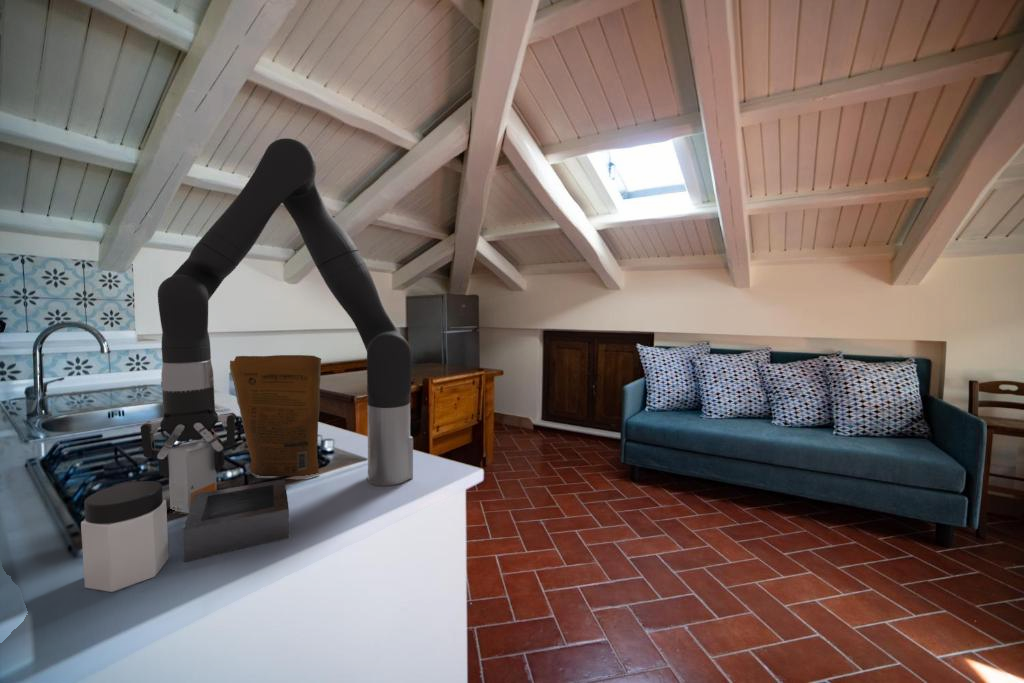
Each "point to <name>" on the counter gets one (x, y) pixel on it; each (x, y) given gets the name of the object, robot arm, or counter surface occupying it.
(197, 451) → the skincare box
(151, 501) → the jar
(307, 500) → the counter surface
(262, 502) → the socket block
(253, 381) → the pancake mix bag
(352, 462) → the counter surface
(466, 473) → the counter surface
